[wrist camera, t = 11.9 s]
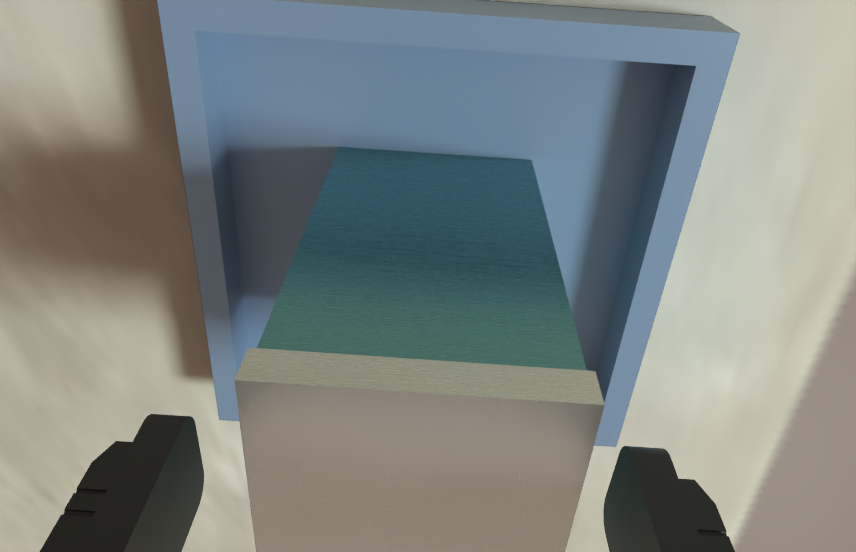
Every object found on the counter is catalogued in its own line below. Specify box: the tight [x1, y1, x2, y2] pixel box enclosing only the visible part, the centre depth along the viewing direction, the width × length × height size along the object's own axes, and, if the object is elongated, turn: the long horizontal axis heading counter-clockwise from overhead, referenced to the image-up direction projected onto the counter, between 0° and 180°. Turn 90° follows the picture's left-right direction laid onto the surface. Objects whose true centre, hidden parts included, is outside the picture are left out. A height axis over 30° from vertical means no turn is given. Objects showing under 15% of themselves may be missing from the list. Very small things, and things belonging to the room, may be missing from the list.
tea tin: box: [234, 147, 605, 552], centre depth 16 cm, size 6×6×10 cm
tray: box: [157, 0, 740, 447], centre depth 20 cm, size 14×14×2 cm
